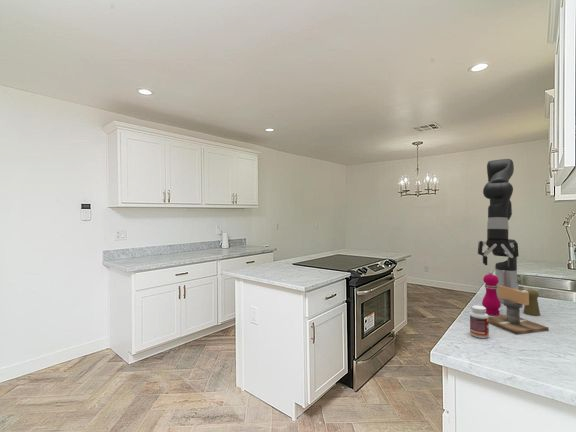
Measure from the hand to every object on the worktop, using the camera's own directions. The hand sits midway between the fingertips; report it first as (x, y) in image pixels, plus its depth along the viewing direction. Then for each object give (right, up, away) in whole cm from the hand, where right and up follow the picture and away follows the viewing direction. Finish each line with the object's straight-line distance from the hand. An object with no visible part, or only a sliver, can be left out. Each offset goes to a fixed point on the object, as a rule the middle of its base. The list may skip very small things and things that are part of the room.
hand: (497, 265), depth 127 cm
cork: (+24, -24, +11) cm, 36 cm away
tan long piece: (+5, -16, -3) cm, 17 cm away
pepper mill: (+6, -25, +12) cm, 28 cm away
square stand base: (+5, -25, -2) cm, 25 cm away
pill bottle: (-16, -25, -12) cm, 32 cm away
